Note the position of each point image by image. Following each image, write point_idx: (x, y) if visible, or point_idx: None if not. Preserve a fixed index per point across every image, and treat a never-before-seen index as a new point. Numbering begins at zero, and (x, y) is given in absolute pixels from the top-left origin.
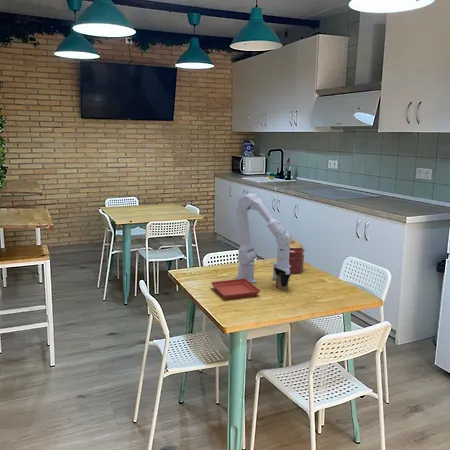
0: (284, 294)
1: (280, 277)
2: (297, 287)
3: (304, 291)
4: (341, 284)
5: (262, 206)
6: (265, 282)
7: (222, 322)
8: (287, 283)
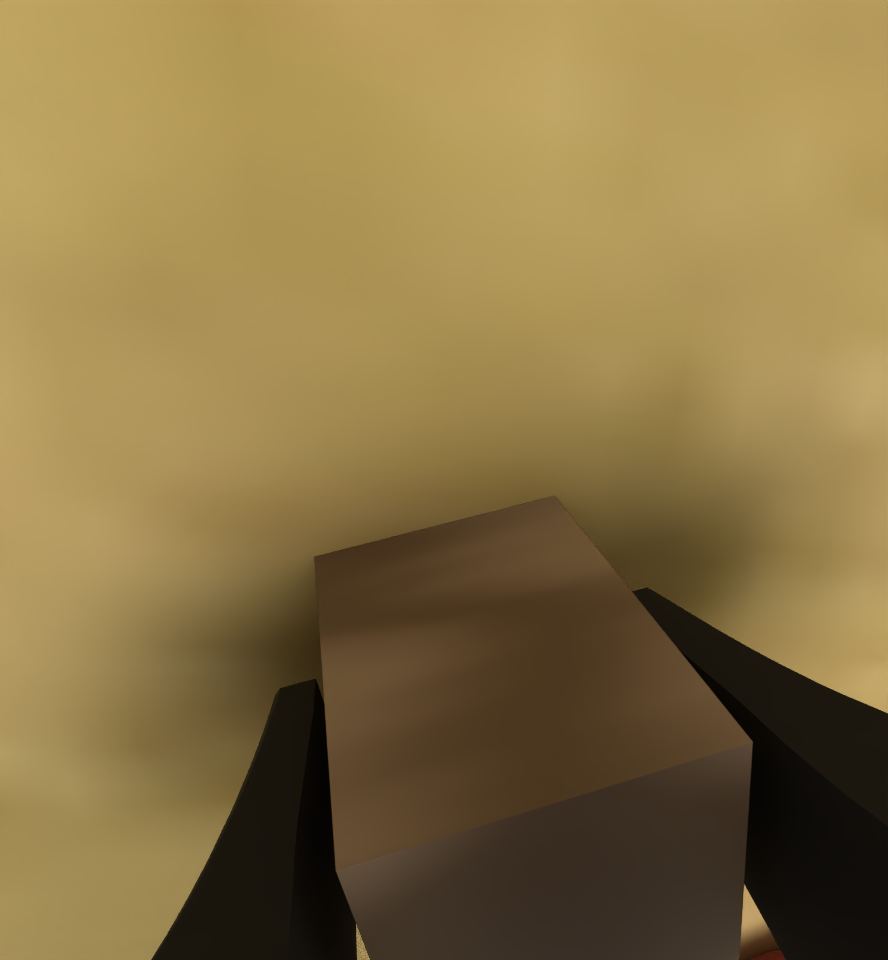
0: (866, 589)
1: (738, 950)
2: (469, 195)
3: (833, 41)
4: None
5: None
6: (122, 918)
7: None
8: (621, 591)
